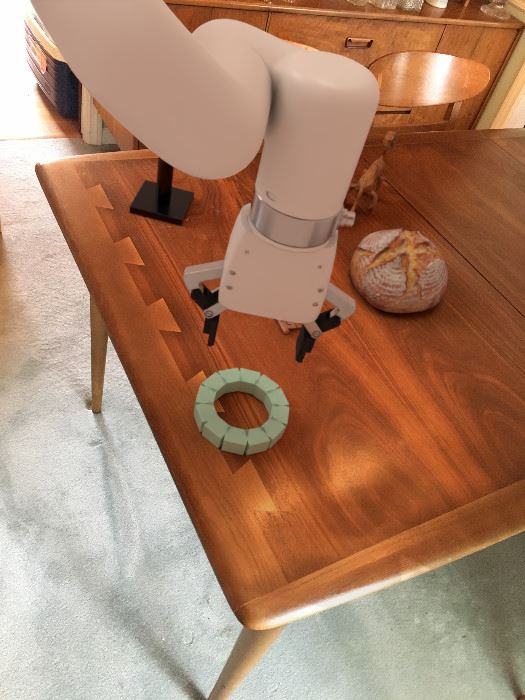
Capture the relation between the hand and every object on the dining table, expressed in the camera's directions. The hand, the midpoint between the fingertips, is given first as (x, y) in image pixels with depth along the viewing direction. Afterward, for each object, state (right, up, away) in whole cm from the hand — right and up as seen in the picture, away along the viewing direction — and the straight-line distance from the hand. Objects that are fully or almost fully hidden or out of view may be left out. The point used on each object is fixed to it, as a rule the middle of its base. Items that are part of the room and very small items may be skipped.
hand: (255, 345), depth 60 cm
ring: (-2, -9, +10) cm, 13 cm away
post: (-17, +25, +37) cm, 47 cm away
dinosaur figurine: (+20, +28, +49) cm, 60 cm away
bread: (+23, +11, +35) cm, 44 cm away
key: (+2, +7, +26) cm, 27 cm away
